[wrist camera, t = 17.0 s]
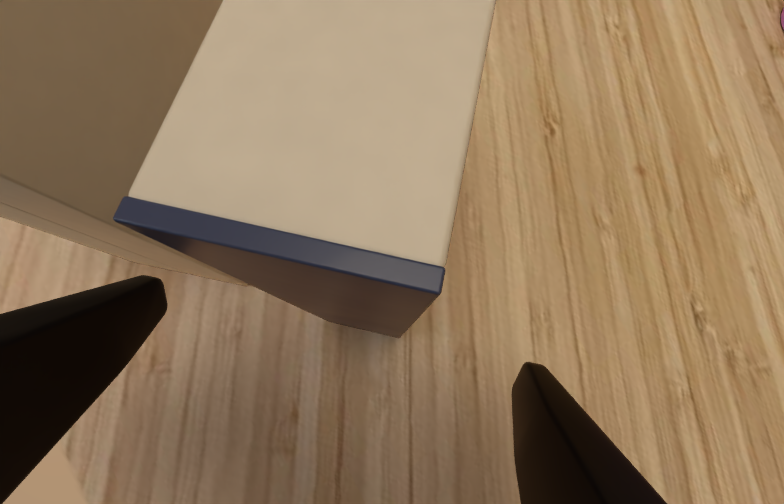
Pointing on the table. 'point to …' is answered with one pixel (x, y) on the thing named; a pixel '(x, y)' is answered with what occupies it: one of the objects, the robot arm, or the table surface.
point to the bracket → (782, 18)
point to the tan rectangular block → (91, 113)
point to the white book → (321, 152)
